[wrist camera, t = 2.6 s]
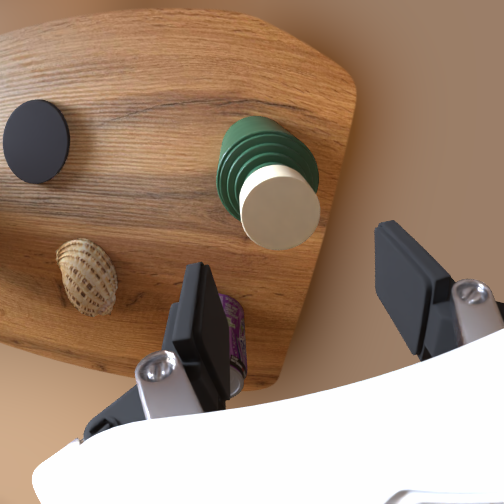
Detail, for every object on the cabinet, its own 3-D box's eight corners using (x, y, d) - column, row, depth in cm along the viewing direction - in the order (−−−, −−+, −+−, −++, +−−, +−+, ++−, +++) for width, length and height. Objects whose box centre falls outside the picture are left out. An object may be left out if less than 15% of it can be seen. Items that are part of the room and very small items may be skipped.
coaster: (21, 88, 26) (18, 88, 25) (83, 119, 29) (80, 119, 28) (-3, 162, 29) (-6, 163, 29) (53, 196, 32) (51, 197, 32)
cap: (265, 150, 17) (270, 160, 15) (323, 189, 18) (335, 203, 16) (226, 209, 18) (225, 227, 16) (283, 242, 20) (290, 262, 18)
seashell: (69, 265, 40) (113, 319, 40) (38, 275, 35) (84, 336, 34) (91, 225, 38) (139, 282, 37) (57, 232, 32) (108, 297, 31)
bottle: (245, 103, 30) (260, 117, 14) (302, 140, 32) (369, 193, 16) (208, 160, 32) (187, 232, 17) (265, 193, 34) (293, 288, 19)
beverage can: (228, 338, 44) (229, 409, 33) (181, 320, 42) (170, 391, 31) (253, 302, 41) (261, 374, 31) (202, 281, 39) (194, 352, 29)
